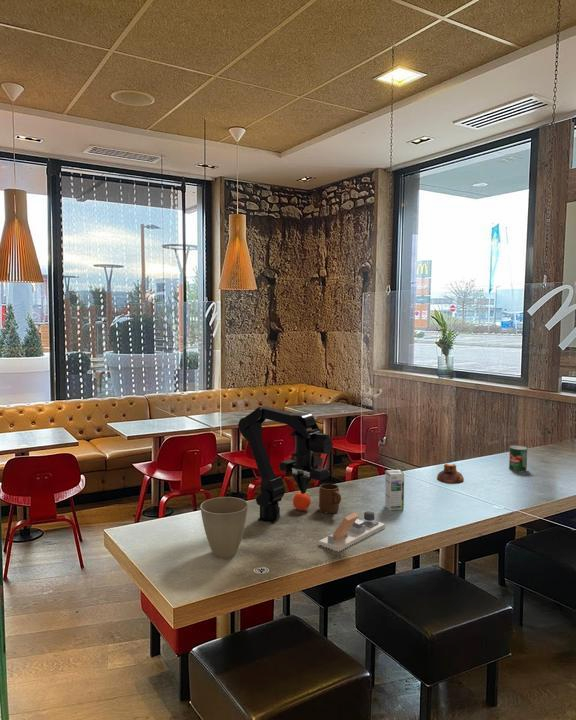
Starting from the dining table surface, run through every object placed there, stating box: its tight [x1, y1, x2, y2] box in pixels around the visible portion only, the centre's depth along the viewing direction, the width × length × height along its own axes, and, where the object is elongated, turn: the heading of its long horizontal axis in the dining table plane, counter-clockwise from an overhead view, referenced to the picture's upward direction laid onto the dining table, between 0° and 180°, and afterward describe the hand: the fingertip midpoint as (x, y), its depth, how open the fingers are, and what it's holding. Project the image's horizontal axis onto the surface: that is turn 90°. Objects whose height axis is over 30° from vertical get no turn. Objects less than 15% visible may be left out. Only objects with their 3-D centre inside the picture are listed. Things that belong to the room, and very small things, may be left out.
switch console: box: [318, 518, 386, 553], centre depth 194 cm, size 8×27×4 cm, turn 138°
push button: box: [363, 510, 375, 521], centre depth 201 cm, size 4×4×2 cm
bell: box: [436, 463, 465, 484], centre depth 258 cm, size 12×12×7 cm
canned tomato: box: [508, 444, 528, 473], centre depth 274 cm, size 8×8×11 cm
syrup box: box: [384, 469, 405, 511], centre depth 222 cm, size 6×6×14 cm
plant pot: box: [199, 496, 249, 559], centre depth 180 cm, size 15×15×16 cm
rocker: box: [353, 518, 364, 527], centre depth 195 cm, size 4×3×1 cm
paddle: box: [331, 512, 359, 541], centre depth 186 cm, size 2×6×11 cm
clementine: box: [292, 491, 314, 511], centre depth 219 cm, size 8×7×7 cm
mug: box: [318, 483, 342, 514], centre depth 217 cm, size 12×8×9 cm, turn 25°
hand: (303, 493), depth 199 cm, fingers closed
